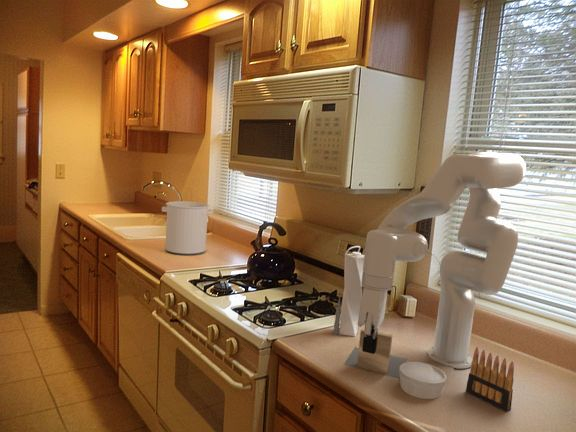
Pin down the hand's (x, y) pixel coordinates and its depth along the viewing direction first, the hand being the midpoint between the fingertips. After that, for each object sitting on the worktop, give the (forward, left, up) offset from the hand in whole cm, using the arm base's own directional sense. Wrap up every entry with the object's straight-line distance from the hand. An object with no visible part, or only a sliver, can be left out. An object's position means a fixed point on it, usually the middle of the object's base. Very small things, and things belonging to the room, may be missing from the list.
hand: (369, 351), depth 119 cm
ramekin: (-2, +13, -8) cm, 16 cm away
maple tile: (-7, 0, -8) cm, 10 cm away
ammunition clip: (-6, +29, -8) cm, 30 cm away
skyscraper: (-28, -12, -8) cm, 32 cm away
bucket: (-90, -115, -8) cm, 147 cm away
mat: (-12, 0, -8) cm, 14 cm away
